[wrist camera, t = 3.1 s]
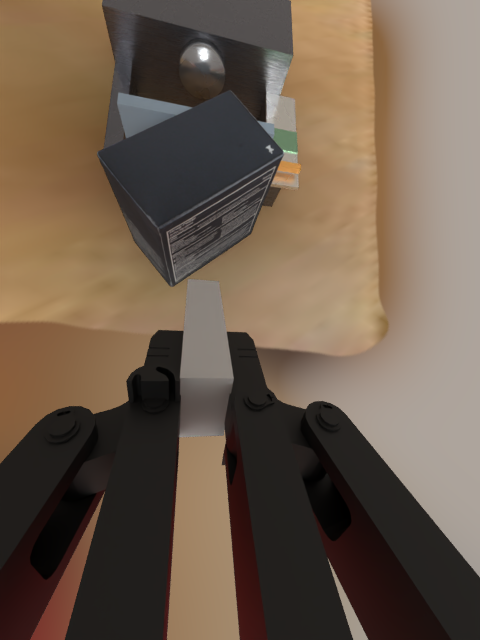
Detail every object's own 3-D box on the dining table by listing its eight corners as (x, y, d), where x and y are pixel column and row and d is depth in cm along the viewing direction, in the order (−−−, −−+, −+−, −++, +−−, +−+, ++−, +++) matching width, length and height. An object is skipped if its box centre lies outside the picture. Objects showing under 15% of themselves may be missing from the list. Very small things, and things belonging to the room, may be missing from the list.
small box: (214, 187, 28) (231, 81, 17) (253, 234, 27) (291, 153, 17) (129, 237, 25) (89, 144, 15) (171, 289, 24) (160, 232, 14)
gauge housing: (129, 45, 29) (111, -54, 22) (281, 81, 32) (306, 5, 26) (111, 184, 25) (84, 116, 19) (286, 208, 29) (316, 158, 22)
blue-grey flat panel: (135, 162, 25) (118, 92, 19) (287, 186, 28) (316, 132, 22) (134, 171, 25) (117, 103, 19) (287, 194, 28) (317, 142, 22)
